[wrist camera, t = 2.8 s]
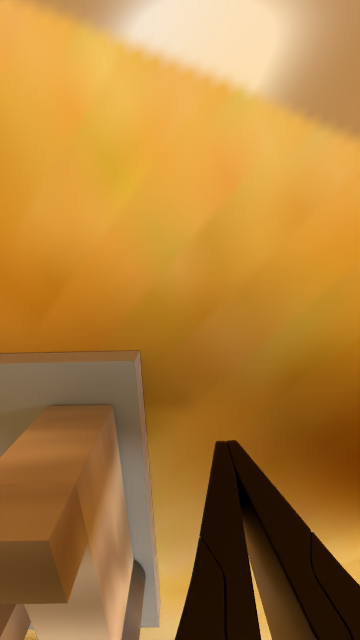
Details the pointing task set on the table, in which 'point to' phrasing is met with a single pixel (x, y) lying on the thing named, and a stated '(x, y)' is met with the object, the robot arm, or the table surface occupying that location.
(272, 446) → the table surface
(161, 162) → the table surface
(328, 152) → the table surface
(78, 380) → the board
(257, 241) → the table surface
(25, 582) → the leg
